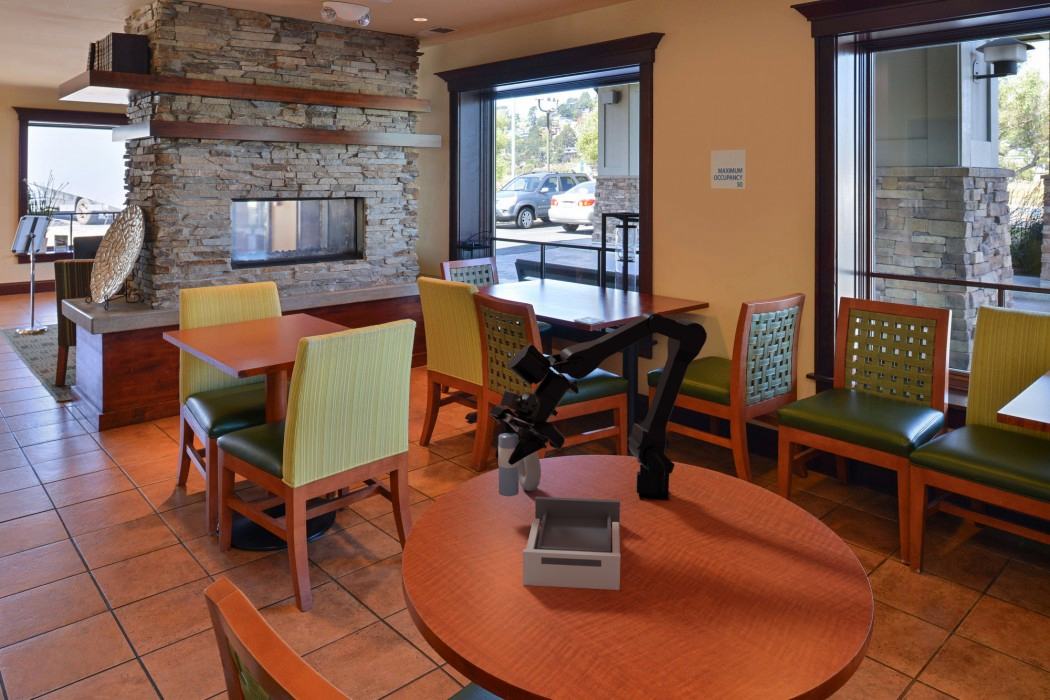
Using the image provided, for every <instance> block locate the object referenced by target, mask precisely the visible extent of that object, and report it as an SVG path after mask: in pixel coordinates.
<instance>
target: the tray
mask: <svg viewBox="0 0 1050 700" xmlns="http://www.w3.org/2000/svg"><path fill="white" fill-rule="evenodd" d="M534 508H535V511H534V514H535V515H534V516H535V518H534V519H540V533H539V538H538V542H537V547H536V549H540V550H561V551H582V552H603V553H612V527H611V525H612V522H619V526H620V523H621V522H620V521H621V519H620V518H621V517H620V515H621V514H620V513H621V500H620V499H605V498H604V499H603V498H602V499H601V498H598V499H597V498H582V497H581V498H577V497H576V498H575V497H558V496H557V497H553V496H552V497H551V496H535V507H534Z"/></svg>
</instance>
